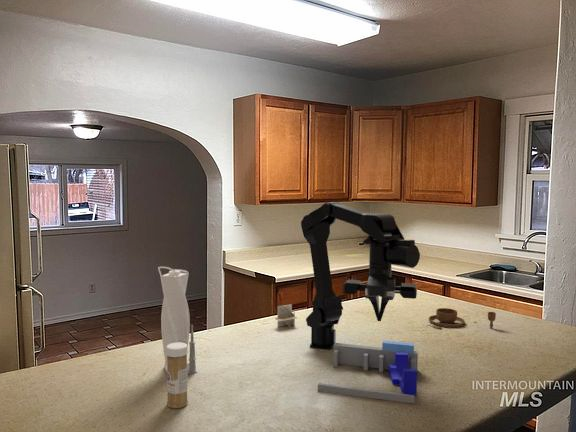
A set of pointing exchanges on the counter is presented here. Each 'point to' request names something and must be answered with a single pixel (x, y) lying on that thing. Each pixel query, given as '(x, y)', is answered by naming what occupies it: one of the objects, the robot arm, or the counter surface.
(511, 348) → the counter surface
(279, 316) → the architectural model
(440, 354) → the counter surface
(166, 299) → the skyscraper
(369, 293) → the robot arm
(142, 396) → the counter surface
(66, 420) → the counter surface
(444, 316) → the place setting
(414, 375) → the cable clip
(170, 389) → the sprinkles bottle
